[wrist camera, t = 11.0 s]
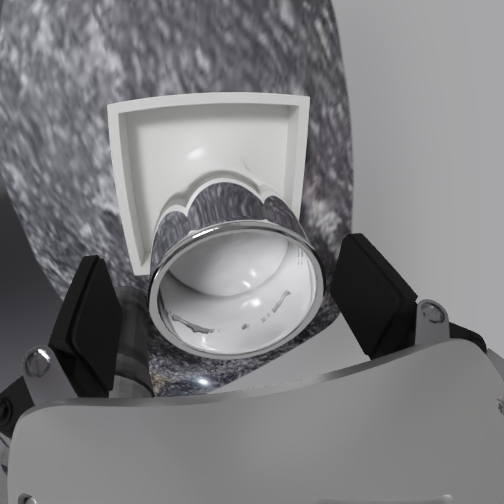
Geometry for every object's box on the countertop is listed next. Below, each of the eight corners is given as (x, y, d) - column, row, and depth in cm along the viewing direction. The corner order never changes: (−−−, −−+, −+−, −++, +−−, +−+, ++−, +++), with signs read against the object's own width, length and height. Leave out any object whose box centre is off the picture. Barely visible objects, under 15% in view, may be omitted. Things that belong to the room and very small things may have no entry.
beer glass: (223, 122, 19) (279, 169, 7) (267, 188, 23) (352, 308, 11) (153, 172, 20) (101, 295, 8) (201, 231, 24) (219, 379, 12)
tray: (118, 103, 17) (107, 104, 15) (295, 96, 20) (309, 96, 17) (139, 257, 25) (134, 275, 22) (284, 244, 28) (293, 261, 25)
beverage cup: (92, 311, 27) (63, 475, 11) (105, 265, 25) (59, 464, 8) (147, 330, 30) (146, 493, 14) (168, 290, 28) (173, 486, 11)
